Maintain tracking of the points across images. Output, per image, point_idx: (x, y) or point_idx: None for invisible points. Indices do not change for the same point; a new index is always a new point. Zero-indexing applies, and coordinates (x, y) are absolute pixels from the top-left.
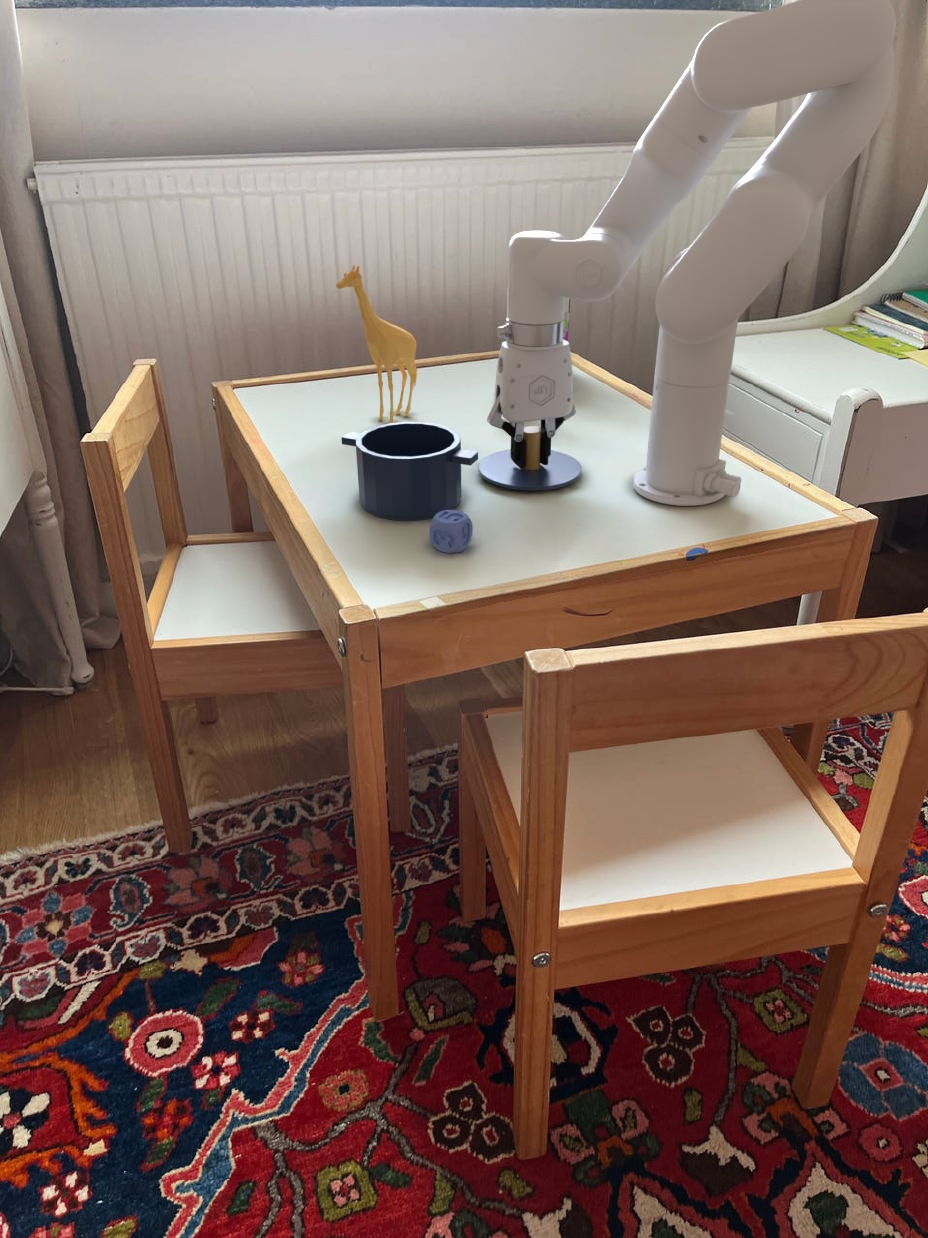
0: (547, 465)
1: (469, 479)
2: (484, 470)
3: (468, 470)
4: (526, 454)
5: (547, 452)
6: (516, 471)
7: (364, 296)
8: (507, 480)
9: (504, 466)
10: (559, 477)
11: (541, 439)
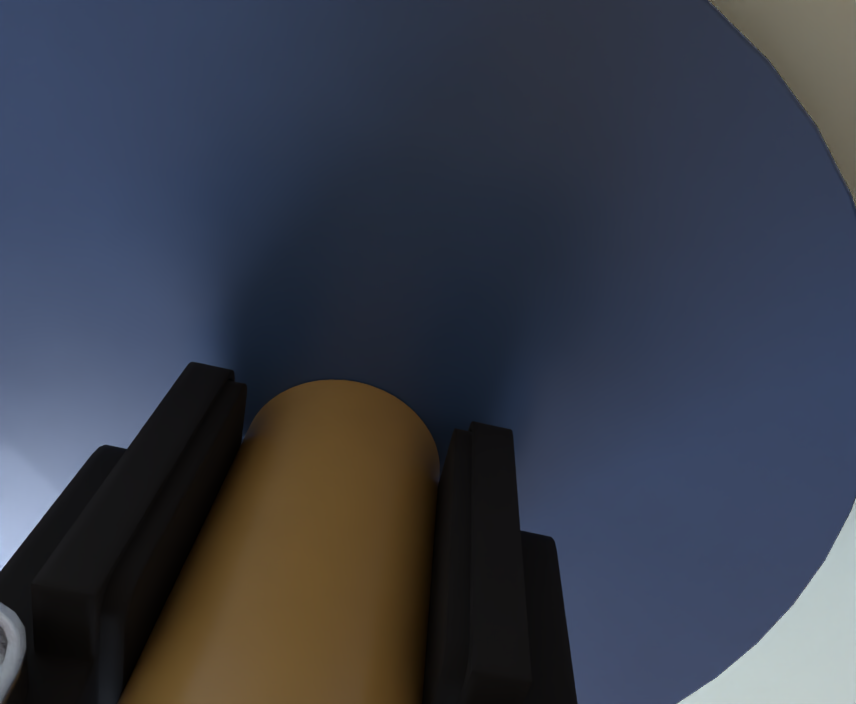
0: None
1: (846, 582)
2: (749, 599)
3: (717, 692)
4: (415, 536)
5: (152, 440)
6: (528, 443)
7: None
8: (772, 317)
9: None
10: (215, 54)
11: (136, 646)
